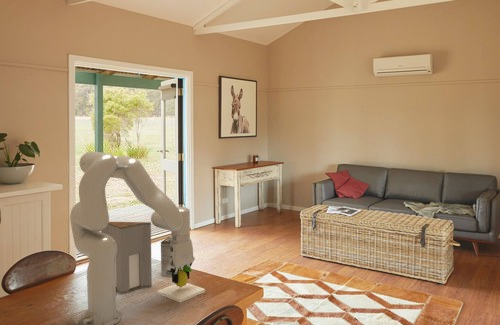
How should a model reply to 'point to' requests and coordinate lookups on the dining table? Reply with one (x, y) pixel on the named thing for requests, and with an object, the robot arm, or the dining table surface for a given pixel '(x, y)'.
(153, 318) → the dining table surface
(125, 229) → the cabinet
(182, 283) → the lemon
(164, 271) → the coffee box
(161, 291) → the plate
